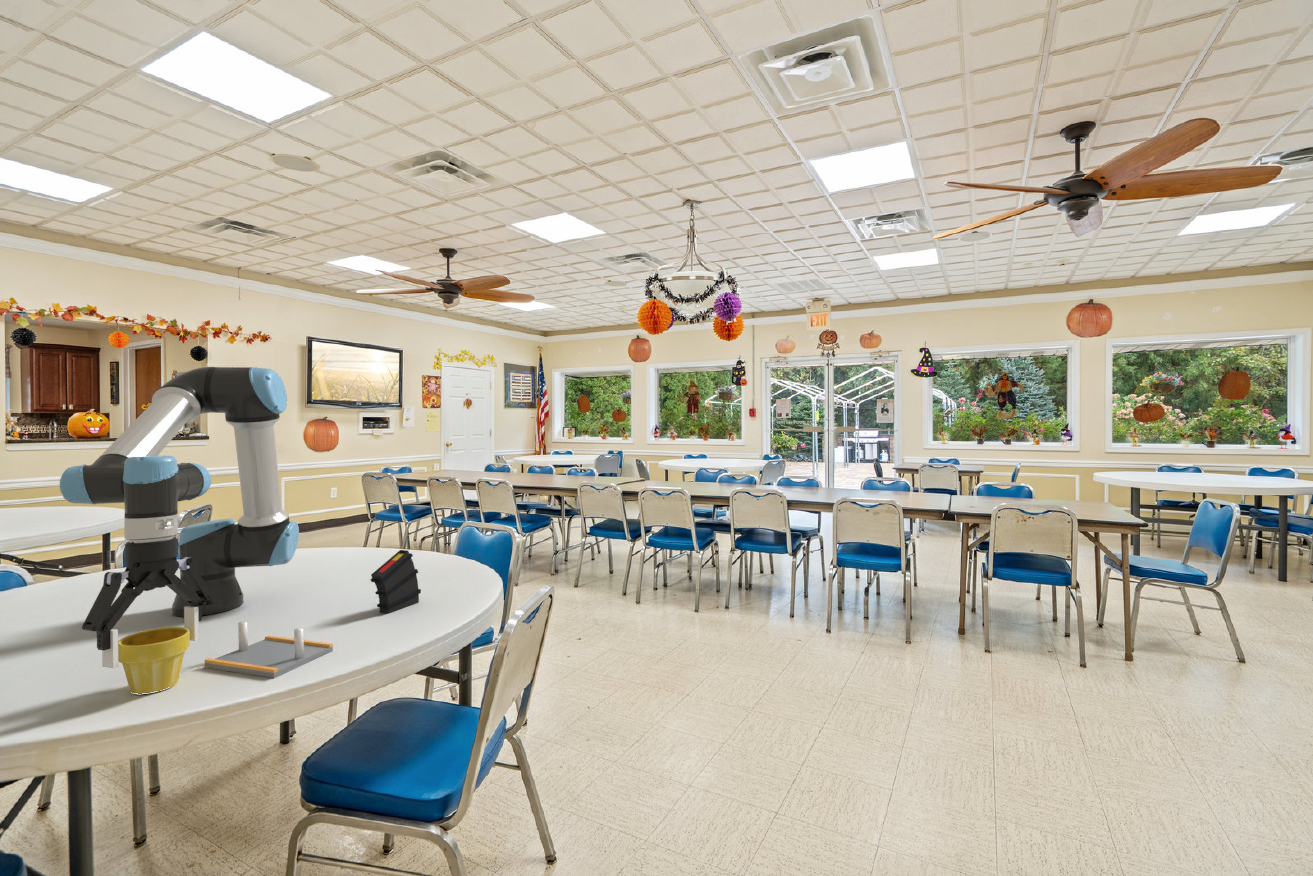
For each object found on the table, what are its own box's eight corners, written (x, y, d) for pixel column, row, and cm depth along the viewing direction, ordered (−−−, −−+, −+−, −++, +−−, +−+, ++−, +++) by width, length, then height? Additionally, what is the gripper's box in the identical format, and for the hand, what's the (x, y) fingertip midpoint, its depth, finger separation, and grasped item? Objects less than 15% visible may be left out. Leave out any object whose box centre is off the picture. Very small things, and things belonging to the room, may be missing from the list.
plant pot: (204, 675, 113) (203, 625, 113) (160, 700, 103) (159, 645, 103) (150, 675, 113) (149, 626, 113) (101, 701, 103) (99, 646, 103)
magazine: (429, 593, 162) (410, 550, 156) (395, 627, 152) (373, 582, 145) (419, 591, 164) (400, 548, 158) (384, 625, 153) (363, 580, 147)
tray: (204, 667, 117) (203, 633, 117) (268, 642, 130) (267, 611, 130) (274, 678, 112) (273, 642, 112) (332, 650, 125) (332, 618, 125)
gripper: (83, 553, 94) (85, 682, 95) (232, 528, 118) (234, 631, 119) (52, 551, 97) (54, 677, 97) (205, 527, 121) (206, 628, 121)
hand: (153, 652), depth 108 cm, fingers open, 13 cm apart
